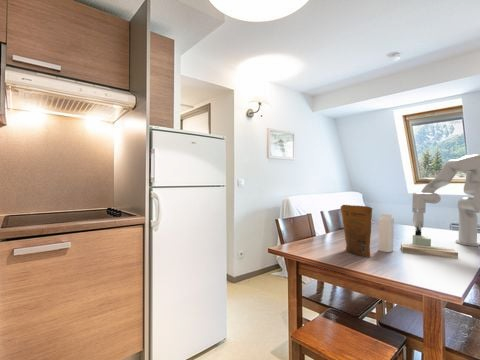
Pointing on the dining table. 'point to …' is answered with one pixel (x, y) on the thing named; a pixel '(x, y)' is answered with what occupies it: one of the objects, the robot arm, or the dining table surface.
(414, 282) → the dining table surface
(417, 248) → the board
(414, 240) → the block
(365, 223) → the pancake mix bag
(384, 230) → the milk
